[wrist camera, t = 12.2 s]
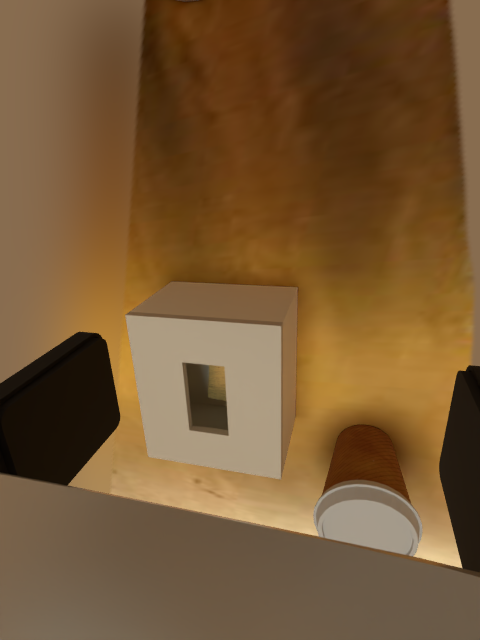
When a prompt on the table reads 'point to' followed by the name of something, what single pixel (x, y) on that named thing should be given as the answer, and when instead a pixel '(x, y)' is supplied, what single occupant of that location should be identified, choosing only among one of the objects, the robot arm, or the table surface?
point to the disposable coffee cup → (367, 495)
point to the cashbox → (240, 374)
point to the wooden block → (217, 383)
